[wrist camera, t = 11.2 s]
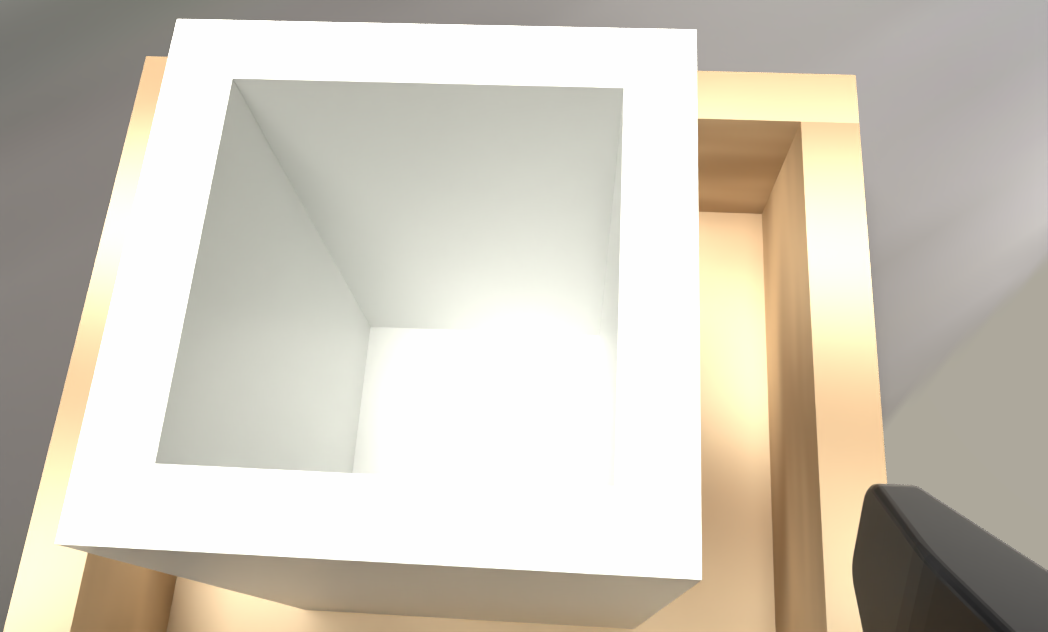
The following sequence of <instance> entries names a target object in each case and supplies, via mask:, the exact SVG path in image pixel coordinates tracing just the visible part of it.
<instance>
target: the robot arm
mask: <svg viewBox="0 0 1048 632" xmlns="http://www.w3.org/2000/svg"><path fill="white" fill-rule="evenodd" d="M852 578H853V585H854V590H855V595H856V600H857V605H858V610H859V615H860V620H861V625H862V629H863V632H1048V570H1046V569H1045V568H1043V567H1042V566H1040V565H1038V564H1037V563H1035V562H1034V561H1032V560H1030V559H1029V558H1028V557H1026V556H1024V555H1023V554H1021V553H1020V552H1018V551H1017V550H1015V549H1014V548H1012V547H1011V546H1009V545H1007V544H1006V543H1004V542H1003V541H1001V540H1000V539H998V538H997V537H995V536H994V535H992V534H990V533H989V532H987V531H986V530H984V529H983V528H981V527H980V526H978V525H976V524H975V523H973V522H972V521H970V520H969V519H967V518H965V517H964V516H963V515H961V514H959V513H958V512H956V511H955V510H953V509H952V508H950V507H948V506H947V505H946V504H944V503H942V502H941V501H939V500H938V499H936V498H935V497H933V496H932V495H930V494H929V493H927V492H925V491H924V490H922V489H921V488H919V487H917V486H913V485H900V484H881V483H879V484H873V485H871V486H870V487H869V488H868V490H867V491H866V494H865V496H864V500H863V505H862V511H861V516H860V521H859V526H858V532H857V537H856V542H855V548H854V553H853V559H852Z"/></svg>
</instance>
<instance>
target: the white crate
mask: <svg viewBox="0 0 1048 632" xmlns="http://www.w3.org/2000/svg"><path fill="white" fill-rule="evenodd" d="M54 544H56V545H60V546H64V547H68V548H71V549H75V550H79V551H83V552H87V553H90V554H94V555H98V556H102V557H106V558H110V559H113V560H117V561H121V562H125V563H129V564H132V565H136V566H140V567H144V568H148V569H151V570H155V571H159V572H163V573H167V574H170V575H174V576H178V577H182V578H186V579H189V580H193V581H197V582H201V583H205V584H208V585H212V586H216V587H220V588H224V589H228V590H231V591H235V592H239V593H243V594H247V595H250V596H254V597H258V598H262V599H266V600H269V601H273V602H277V603H281V604H285V605H288V606H292V607H296V608H300V609H304V610H317V611H334V612H351V613H368V614H385V615H402V616H419V617H436V618H453V619H470V620H487V621H504V622H521V623H538V624H555V625H572V626H589V627H606V628H623V629H635V628H636V627H638V626H639V625H640V624H642V623H643V622H645V621H646V620H647V619H649V618H650V617H651V616H653V615H654V614H656V613H657V612H658V611H660V610H661V609H663V608H664V607H665V606H667V605H668V604H669V603H671V602H672V601H674V600H675V599H676V598H678V597H679V596H680V595H682V594H683V593H685V592H686V591H687V590H689V589H690V588H691V587H693V586H694V585H696V584H697V583H698V582H700V581H701V580H702V534H701V432H700V331H699V230H698V129H697V30H690V29H641V28H592V27H544V26H495V25H446V24H397V23H348V22H300V21H251V20H202V19H177V21H176V25H175V30H174V34H173V38H172V42H171V47H170V51H169V55H168V60H167V64H166V68H165V72H164V77H163V81H162V85H161V90H160V94H159V98H158V102H157V107H156V111H155V115H154V119H153V124H152V128H151V132H150V137H149V141H148V145H147V149H146V154H145V158H144V162H143V167H142V171H141V175H140V179H139V184H138V188H137V192H136V197H135V201H134V205H133V209H132V214H131V218H130V222H129V227H128V231H127V235H126V239H125V244H124V248H123V252H122V257H121V261H120V265H119V269H118V274H117V278H116V282H115V287H114V291H113V295H112V299H111V304H110V308H109V312H108V316H107V321H106V325H105V329H104V334H103V338H102V342H101V346H100V351H99V355H98V359H97V364H96V368H95V372H94V376H93V381H92V385H91V389H90V394H89V398H88V402H87V406H86V411H85V415H84V419H83V424H82V428H81V432H80V436H79V441H78V445H77V449H76V454H75V458H74V462H73V466H72V471H71V475H70V479H69V484H68V488H67V492H66V496H65V501H64V505H63V509H62V514H61V518H60V522H59V526H58V531H57V535H56V539H55V543H54Z"/></svg>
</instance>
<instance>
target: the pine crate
mask: <svg viewBox="0 0 1048 632" xmlns="http://www.w3.org/2000/svg"><path fill="white" fill-rule="evenodd" d="M167 60H168V57H151V56H146V60H145V64H144V68H143V72H142V76H141V80H140V84H139V88H138V92H137V96H136V100H135V104H134V108H133V112H132V116H131V120H130V124H129V128H128V132H127V136H126V140H125V144H124V148H123V152H122V156H121V160H120V164H119V168H118V172H117V176H116V180H115V184H114V188H113V192H112V197H111V201H110V205H109V209H108V213H107V217H106V221H105V225H104V229H103V233H102V237H101V241H100V245H99V249H98V253H97V257H96V261H95V265H94V269H93V273H92V277H91V281H90V285H89V289H88V293H87V297H86V301H85V305H84V309H83V313H82V317H81V321H80V325H79V329H78V333H77V337H76V342H75V346H74V350H73V354H72V358H71V362H70V366H69V370H68V374H67V378H66V382H65V386H64V390H63V394H62V398H61V402H60V406H59V410H58V414H57V418H56V422H55V426H54V430H53V434H52V438H51V442H50V446H49V450H48V454H47V458H46V462H45V466H44V470H43V474H42V478H41V483H40V487H39V491H38V495H37V499H36V503H35V507H34V511H33V515H32V519H31V523H30V527H29V531H28V535H27V539H26V543H25V547H24V551H23V555H22V559H21V563H20V567H19V571H18V575H17V579H16V583H15V587H14V591H13V595H12V599H11V603H10V607H9V611H8V615H7V619H6V623H5V628H4V632H863V629H862V625H861V620H860V615H859V610H858V605H857V600H856V595H855V590H854V585H853V578H852V559H853V553H854V548H855V542H856V537H857V532H858V526H859V521H860V516H861V511H862V505H863V500H864V496H865V494H866V491H867V490H868V488H869V487H870V486H871V485H873V484H879V483H881V484H887V477H886V464H885V453H884V452H885V451H884V439H883V425H882V412H881V399H880V386H879V373H878V360H877V347H876V334H875V321H874V309H873V296H872V283H871V270H870V257H869V244H868V231H867V218H866V205H865V192H864V179H863V166H862V154H861V141H860V128H859V115H858V102H857V89H856V76H855V75H833V74H795V73H757V72H719V71H697V129H698V230H699V331H700V432H701V534H702V580H701V581H700V582H698V583H697V584H696V585H694V586H693V587H691V588H690V589H689V590H687V591H686V592H685V593H683V594H682V595H680V596H679V597H678V598H676V599H675V600H674V601H672V602H671V603H669V604H668V605H667V606H665V607H664V608H663V609H661V610H660V611H658V612H657V613H656V614H654V615H653V616H651V617H650V618H649V619H647V620H646V621H645V622H643V623H642V624H640V625H639V626H638V627H636V628H635V629H623V628H606V627H589V626H572V625H555V624H538V623H521V622H504V621H487V620H470V619H453V618H436V617H419V616H402V615H385V614H368V613H351V612H334V611H317V610H304V609H300V608H296V607H292V606H288V605H285V604H281V603H277V602H273V601H269V600H266V599H262V598H258V597H254V596H250V595H247V594H243V593H239V592H235V591H231V590H228V589H224V588H220V587H216V586H212V585H208V584H205V583H201V582H197V581H193V580H189V579H186V578H182V577H178V576H174V575H170V574H167V573H163V572H159V571H155V570H151V569H148V568H144V567H140V566H136V565H132V564H129V563H125V562H121V561H117V560H113V559H110V558H106V557H102V556H98V555H94V554H90V553H87V552H83V551H79V550H75V549H71V548H68V547H64V546H60V545H56V544H54V543H55V539H56V535H57V531H58V526H59V522H60V518H61V514H62V509H63V505H64V501H65V496H66V492H67V488H68V484H69V479H70V475H71V471H72V466H73V462H74V458H75V454H76V449H77V445H78V441H79V436H80V432H81V428H82V424H83V419H84V415H85V411H86V406H87V402H88V398H89V394H90V389H91V385H92V381H93V376H94V372H95V368H96V364H97V359H98V355H99V351H100V346H101V342H102V338H103V334H104V329H105V325H106V321H107V316H108V312H109V308H110V304H111V299H112V295H113V291H114V287H115V282H116V278H117V274H118V269H119V265H120V261H121V257H122V252H123V248H124V244H125V239H126V235H127V231H128V227H129V222H130V218H131V214H132V209H133V205H134V201H135V197H136V192H137V188H138V184H139V179H140V175H141V171H142V167H143V162H144V158H145V154H146V149H147V145H148V141H149V137H150V132H151V128H152V124H153V119H154V115H155V111H156V107H157V102H158V98H159V94H160V90H161V85H162V81H163V77H164V72H165V68H166V64H167Z"/></svg>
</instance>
